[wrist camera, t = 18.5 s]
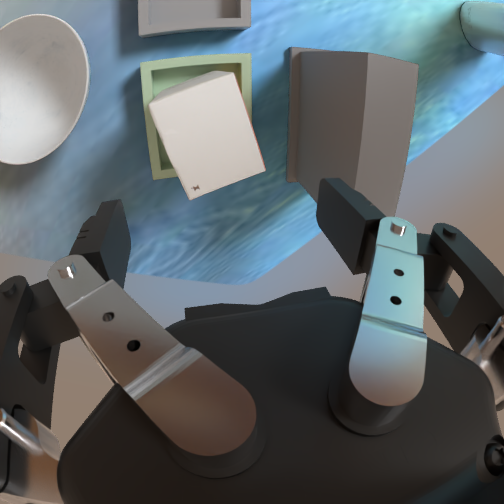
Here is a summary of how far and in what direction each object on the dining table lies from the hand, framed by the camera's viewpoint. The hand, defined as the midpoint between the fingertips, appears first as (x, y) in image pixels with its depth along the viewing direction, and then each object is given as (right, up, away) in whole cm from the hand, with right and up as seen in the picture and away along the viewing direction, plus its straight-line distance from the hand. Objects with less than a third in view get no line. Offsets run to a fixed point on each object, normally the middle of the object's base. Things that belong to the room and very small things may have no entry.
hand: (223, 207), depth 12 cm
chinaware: (-22, +17, +12) cm, 30 cm away
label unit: (+9, +15, +22) cm, 28 cm away
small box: (-5, +14, +18) cm, 23 cm away
